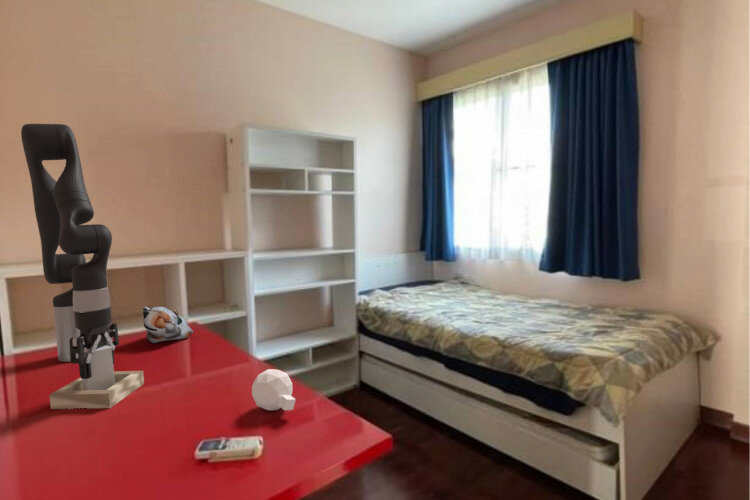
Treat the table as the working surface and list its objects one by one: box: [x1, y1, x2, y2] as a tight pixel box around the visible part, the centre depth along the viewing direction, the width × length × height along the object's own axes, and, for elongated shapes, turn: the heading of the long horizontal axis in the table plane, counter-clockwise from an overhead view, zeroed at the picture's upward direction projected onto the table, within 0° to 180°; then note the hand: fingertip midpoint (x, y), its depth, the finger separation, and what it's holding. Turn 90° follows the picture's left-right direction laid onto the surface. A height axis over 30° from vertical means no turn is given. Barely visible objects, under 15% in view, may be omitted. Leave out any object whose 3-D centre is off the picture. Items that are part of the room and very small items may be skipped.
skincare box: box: [82, 345, 115, 390], centre depth 105 cm, size 6×4×12 cm
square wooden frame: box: [49, 370, 145, 410], centre depth 106 cm, size 14×14×4 cm
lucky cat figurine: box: [142, 306, 194, 344], centre depth 151 cm, size 17×14×16 cm
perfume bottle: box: [251, 368, 297, 411], centre depth 95 cm, size 9×9×12 cm
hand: (98, 371), depth 105 cm, fingers open, 8 cm apart
